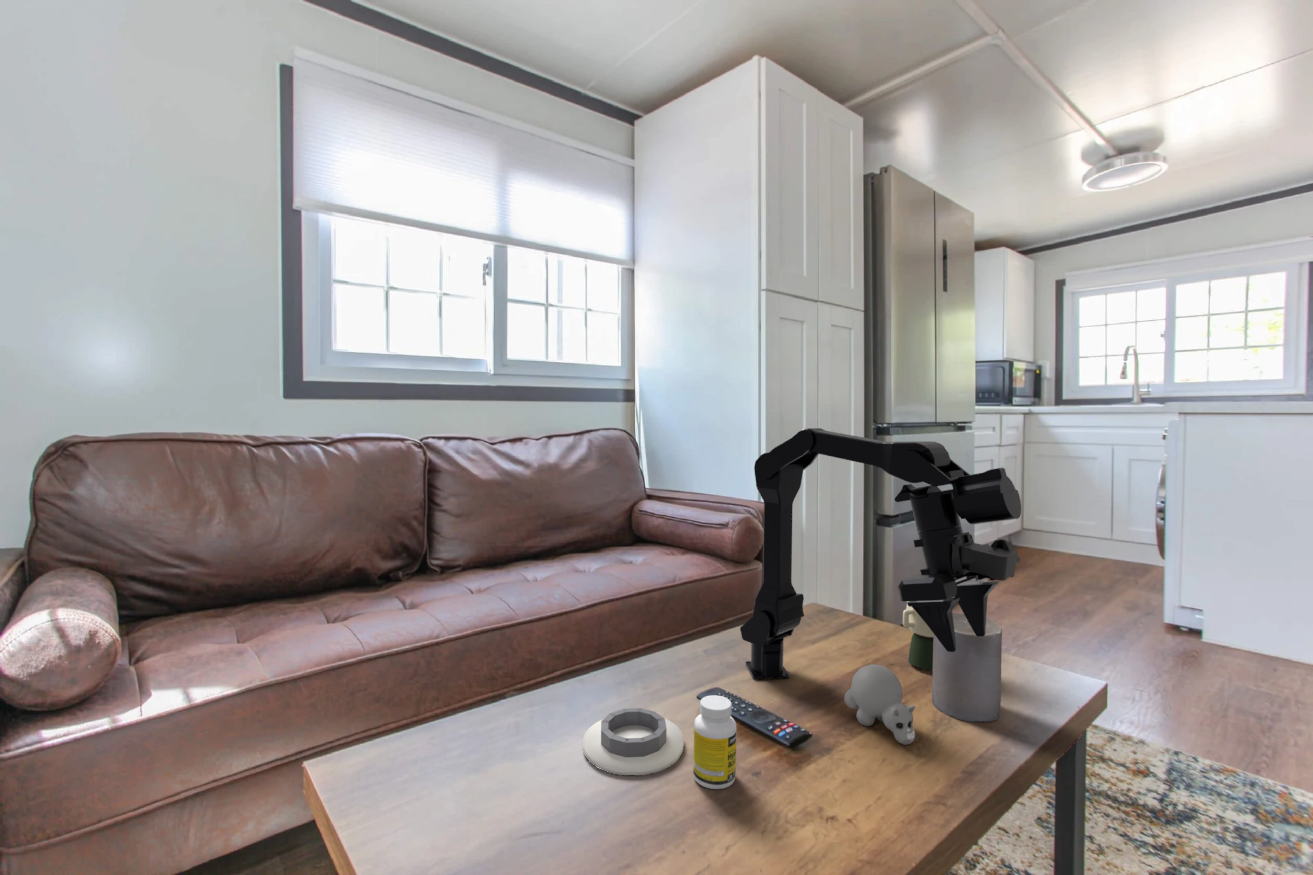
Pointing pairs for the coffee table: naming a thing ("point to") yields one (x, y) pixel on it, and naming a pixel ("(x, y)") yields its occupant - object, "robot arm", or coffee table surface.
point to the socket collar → (633, 742)
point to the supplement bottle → (715, 743)
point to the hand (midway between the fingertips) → (966, 643)
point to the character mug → (919, 640)
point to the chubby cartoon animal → (881, 701)
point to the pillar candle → (969, 673)
